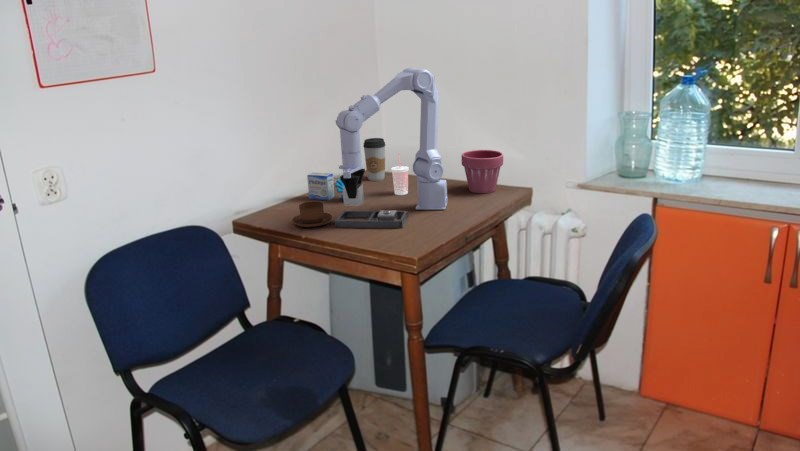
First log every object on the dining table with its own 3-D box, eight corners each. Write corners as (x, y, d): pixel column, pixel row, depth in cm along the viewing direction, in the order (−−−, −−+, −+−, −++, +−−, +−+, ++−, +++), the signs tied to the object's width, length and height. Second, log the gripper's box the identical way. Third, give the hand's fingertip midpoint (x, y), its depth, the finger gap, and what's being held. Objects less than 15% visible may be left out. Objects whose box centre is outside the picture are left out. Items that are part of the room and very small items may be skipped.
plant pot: (511, 188, 234) (511, 152, 230) (485, 197, 225) (484, 160, 221) (480, 182, 244) (480, 147, 240) (453, 190, 235) (452, 154, 231)
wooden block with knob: (397, 219, 207) (396, 208, 206) (394, 224, 202) (393, 213, 201) (381, 219, 208) (380, 208, 207) (378, 224, 203) (377, 213, 202)
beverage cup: (410, 195, 233) (408, 155, 228) (392, 195, 233) (389, 156, 228) (410, 190, 238) (408, 151, 234) (392, 191, 239) (390, 152, 234)
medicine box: (308, 199, 234) (306, 174, 232) (315, 195, 238) (312, 171, 235) (329, 200, 231) (326, 176, 229) (335, 197, 235) (333, 172, 233)
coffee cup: (363, 181, 253) (360, 142, 249) (368, 176, 261) (365, 137, 256) (385, 181, 252) (382, 141, 247) (389, 176, 260) (387, 137, 255)
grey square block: (363, 201, 207) (362, 182, 205) (360, 205, 202) (358, 187, 200) (347, 201, 208) (346, 182, 206) (343, 205, 203) (342, 187, 201)
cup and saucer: (285, 225, 208) (283, 206, 206) (316, 215, 216) (314, 197, 214) (309, 232, 200) (307, 213, 198) (340, 222, 208) (338, 203, 206)
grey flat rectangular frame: (407, 217, 209) (407, 210, 208) (402, 228, 199) (401, 221, 198) (343, 216, 213) (343, 210, 212) (335, 227, 203) (334, 221, 202)
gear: (346, 200, 224) (332, 176, 227) (337, 211, 228) (323, 187, 231) (369, 197, 232) (356, 174, 235) (360, 207, 236) (347, 184, 239)
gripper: (344, 146, 207) (347, 189, 212) (331, 157, 194) (335, 202, 198) (366, 146, 206) (369, 189, 210) (355, 156, 193) (358, 202, 197)
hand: (354, 195), depth 204 cm, fingers closed on grey square block, 5 cm apart
